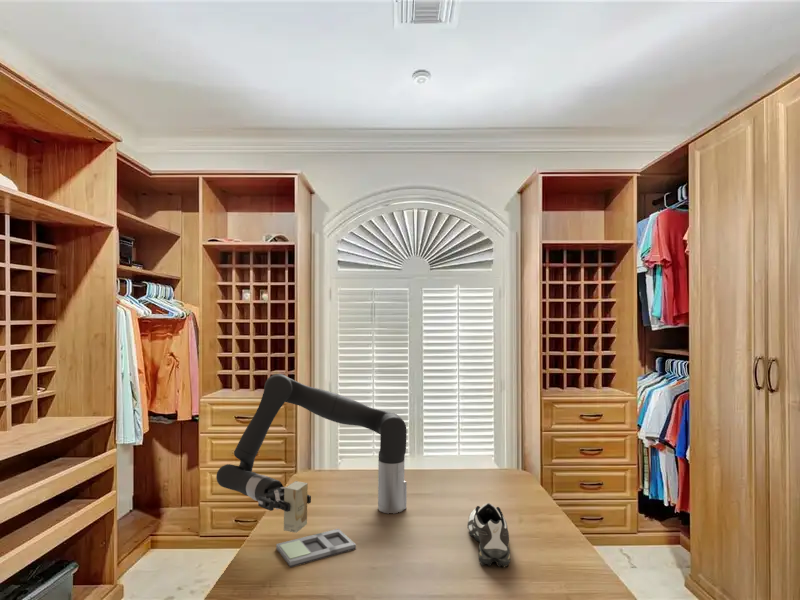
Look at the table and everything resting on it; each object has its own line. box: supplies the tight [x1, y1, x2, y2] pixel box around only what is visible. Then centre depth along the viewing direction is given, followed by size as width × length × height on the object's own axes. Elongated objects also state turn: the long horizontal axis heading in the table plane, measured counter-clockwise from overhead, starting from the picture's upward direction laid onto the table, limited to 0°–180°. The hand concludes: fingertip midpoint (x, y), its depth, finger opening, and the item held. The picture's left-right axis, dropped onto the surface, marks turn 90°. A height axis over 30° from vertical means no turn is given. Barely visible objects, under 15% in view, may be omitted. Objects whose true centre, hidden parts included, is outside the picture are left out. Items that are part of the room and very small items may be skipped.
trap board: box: [275, 528, 357, 568], centre depth 148 cm, size 20×12×2 cm, turn 122°
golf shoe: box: [467, 502, 511, 567], centre depth 152 cm, size 12×30×14 cm, turn 3°
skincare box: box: [283, 480, 309, 534], centre depth 144 cm, size 6×4×12 cm
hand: (299, 503), depth 143 cm, fingers closed on skincare box, 7 cm apart
